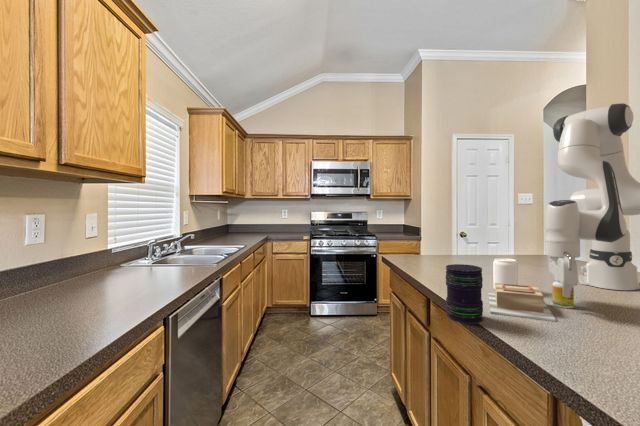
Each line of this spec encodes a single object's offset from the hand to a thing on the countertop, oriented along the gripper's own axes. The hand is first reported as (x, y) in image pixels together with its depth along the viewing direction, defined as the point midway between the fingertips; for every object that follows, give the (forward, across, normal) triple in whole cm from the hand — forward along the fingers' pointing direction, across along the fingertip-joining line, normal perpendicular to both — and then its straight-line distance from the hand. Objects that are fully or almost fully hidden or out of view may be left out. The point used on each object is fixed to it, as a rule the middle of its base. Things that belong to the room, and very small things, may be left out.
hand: (562, 293), depth 98 cm
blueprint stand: (+4, -6, +13) cm, 15 cm away
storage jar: (+5, -24, +28) cm, 37 cm away
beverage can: (+4, +13, +15) cm, 20 cm away
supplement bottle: (+4, 0, 0) cm, 4 cm away
